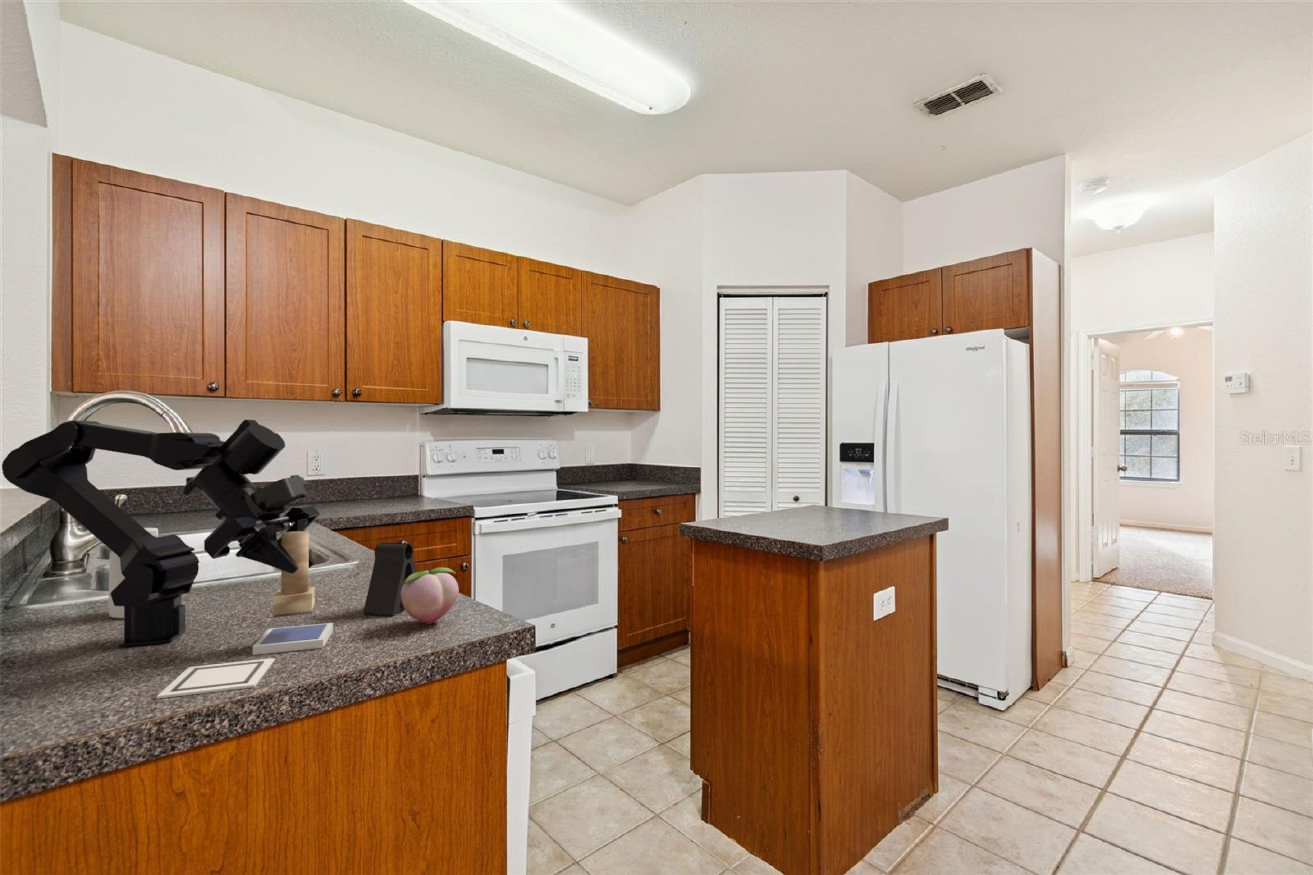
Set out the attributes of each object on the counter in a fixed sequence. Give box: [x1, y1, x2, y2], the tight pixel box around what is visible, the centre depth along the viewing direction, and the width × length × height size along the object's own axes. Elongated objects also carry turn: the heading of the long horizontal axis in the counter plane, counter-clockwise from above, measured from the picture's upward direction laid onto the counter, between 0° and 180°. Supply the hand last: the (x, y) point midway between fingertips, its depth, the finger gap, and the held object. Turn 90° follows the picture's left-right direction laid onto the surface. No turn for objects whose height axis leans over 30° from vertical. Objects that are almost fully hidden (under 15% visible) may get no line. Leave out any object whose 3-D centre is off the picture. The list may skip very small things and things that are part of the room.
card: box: [156, 657, 276, 700], centre depth 79 cm, size 10×10×1 cm
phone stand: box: [362, 542, 417, 617], centre depth 112 cm, size 9×6×12 cm, turn 167°
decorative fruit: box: [401, 563, 460, 625], centre depth 103 cm, size 9×8×10 cm
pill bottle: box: [108, 527, 159, 619], centre depth 109 cm, size 8×8×15 cm
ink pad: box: [252, 622, 334, 656], centre depth 93 cm, size 9×9×1 cm
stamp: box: [272, 530, 316, 618], centre depth 93 cm, size 5×5×12 cm
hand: (303, 568), depth 93 cm, fingers closed on stamp, 4 cm apart
